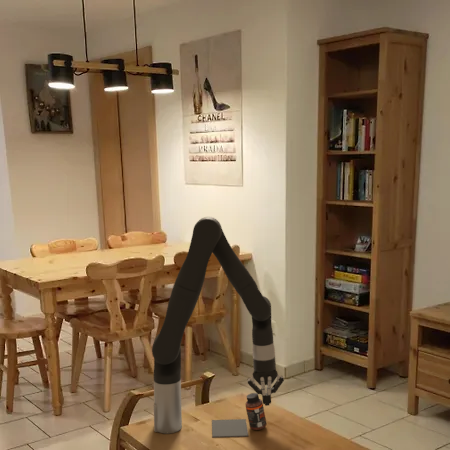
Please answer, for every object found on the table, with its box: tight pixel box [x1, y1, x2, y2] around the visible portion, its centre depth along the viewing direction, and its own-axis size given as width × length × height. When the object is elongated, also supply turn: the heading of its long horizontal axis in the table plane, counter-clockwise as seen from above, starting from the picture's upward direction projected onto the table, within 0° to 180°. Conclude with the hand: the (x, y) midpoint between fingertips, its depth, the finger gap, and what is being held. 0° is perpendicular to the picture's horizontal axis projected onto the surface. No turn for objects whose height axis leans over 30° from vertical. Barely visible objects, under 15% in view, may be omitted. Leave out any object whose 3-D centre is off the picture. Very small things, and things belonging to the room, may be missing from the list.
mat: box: [211, 418, 249, 439], centre depth 192 cm, size 12×12×1 cm
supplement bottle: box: [245, 392, 267, 431], centre depth 192 cm, size 6×6×11 cm
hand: (267, 404), depth 192 cm, fingers closed
